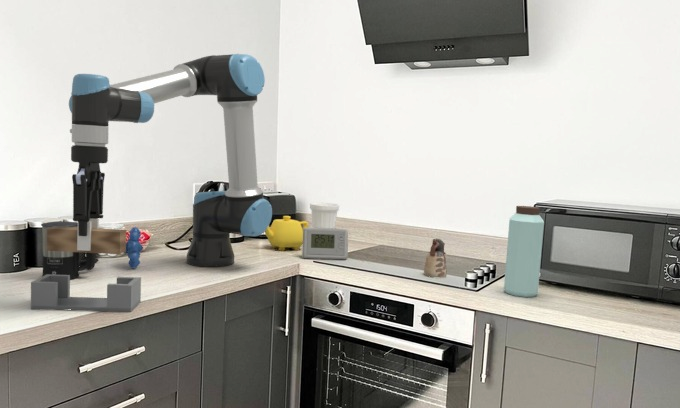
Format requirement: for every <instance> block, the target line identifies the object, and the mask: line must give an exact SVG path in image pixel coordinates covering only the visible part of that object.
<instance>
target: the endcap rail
mask: <svg viewBox="0 0 680 408" xmlns="http://www.w3.org/2000/svg"><path fill="white" fill-rule="evenodd" d="M70 285H71V279H70V275H52V274H46V275H44V276H43V277H42V276H41V277H39V278H37V279H35V280H33V281H31V282H30V310H40V309H71V310H70V311H76V310H97V311H96V312H112V313H113V312H114V313H115V312H116V313H117V312H119V313H120V312H121V313H122V312H123V313H131V312H132V311H134V309H136V308H137V307H138V305H139V304H140V303H141V300H142V299H141V295H142V294H141V293H142V277H139V276H138V277H137V276H135V277H134V276H117V277H116V283H108V284H106V285H107V286H106V297H84V296H81V297H80V296H71V295H70V294H71V289H70V288H71V286H70Z"/></svg>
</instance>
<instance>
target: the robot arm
mask: <svg viewBox="0 0 680 408" xmlns="http://www.w3.org/2000/svg"><path fill="white" fill-rule="evenodd" d="M264 72H265V71H264V69H263V67H262V65H261V63H260V62H258V60H257V59H256V58H255V57H254V56H253V55H250V54H245V53H244V54H243V53H234V54H233V53H232V54H219V55H207V56H204V57H200V58H199V57H198V58H196V59H193V60H189V61H186V62H184V63H180V64H177V65H175V66H174V67H173V68H172V69H170V70H165V71H163V72H159V73H155V74H150V75H146V76H143V77H138V78H134V79H130V80H126V81H122V82H118V83H114V84H110V79H109V77H107V76H104V75H101V74H95V73H94V74H93V73H76V74H75V75H74V76H73V78H72V84H71V92H70V97H69V100H68V108H69V111H70V113H71V128H70V129H69V133H70V134H71V142H72V143H74V144H73V145H72V146H70V149H71V151H70V153H71V154H70V161H71V162H73V163H78V169H77V173H76V174H74V173H73V174H72V176H71V177H72V178H71V179H72V188H73V189H72V194H73V196H72V197H73V198H72V203H73V204H72V207H73V208H72V215H73V217H72V222H77V223H78V228H77V250H83V251H90V250H91V228H100V225H99V223H100V219H104V213H103V212H104V185H105V183H104V182H105V176H106V175H105V172H102V171H101V165H100V164H107V163H108V161H109V160H108V159H109V158H108V157H109V149H108V147H107V146H106V145H108V144H109V122H122V123H123V122H124V123H125V122H126V123H134V124H144V123H148V122H149V121H150V120H151V119H152V118H153V117H154V113H155V104H158V103H160V102H164V101H167V100H171V99H174V98H175V99H176V98H178V97H184V98H190V97H193V96H216V99H217V100H216V101H217V104H219V106H220V107H222V110H223V122H224V136H225V138H224V139H225V148H226V149H225V150H226V162H227V163H226V164H227V174H228V175H227V176H228V189H227V190H218V191H217V190H216V191H215V190H214V191H201V192H197V193H195V195H194V196H193V204H192V239H191V243H190V245H189V247H188V250H187V253H186V257H185V258H186V262H185V263H187V264H188V265H191V266H195V267H208V268H209V267H211V268H213V267H225V266H231V265H234V264H235V253H234V249H233V246H232V242H231V238H230V237H231V234H233V235H238V236H239V235H240V236H244V237H259V236H261V235H262V234H264V233H265V230H266V229H267V227H268V226H269V227H270V224H271V222H272V217H273V208H272V207H273V206H272V205H271V203H270V202H269V200H267V199H266V198H264V190H263V189H262V188H261V187H259V185H258V173H257V171H258V170H257V156H256V155H257V154H256V139H255V124H254V123H255V122H254V110H253V107H254V106H255V105H256V103H257V102H258V95H260V94H261V93H262V92H263V89H264V86H265V84H266V83H265V78H266V77H265V73H264Z"/></svg>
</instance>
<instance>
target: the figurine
mask: <svg viewBox="0 0 680 408" xmlns="http://www.w3.org/2000/svg"><path fill="white" fill-rule="evenodd" d="M446 254H447V253H446V251H445V242H444V241H443V240H442V238H433V239H432V244H431V246H430V251H429V252H428V254H427V256H426V259H425V263H424V268H423V274H424V276H426V277H428V276H430V277H429V278H433V277H444V278H446V277H447V271H448V269H447V260H446Z"/></svg>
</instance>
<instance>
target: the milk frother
mask: <svg viewBox="0 0 680 408" xmlns="http://www.w3.org/2000/svg"><path fill="white" fill-rule="evenodd" d="M40 225H41V229H42V234H41V235H42V275H41V277H43V276H44V275H46V274H52V275H70V280H73V279H76V278H78V277H79V276H80V273H79V272H82V271H84V270H85V269H87V270H92V269H94V268H95V266H96V264H97V263H98V262H99V258H97V257H96V256H97V253H85V255H86V256H85V259H84V260H80V252H64V251H47V228H50V227H54V226H63V227H78V221H50V222H49V221H48V222H43V223H41V224H40Z"/></svg>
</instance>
